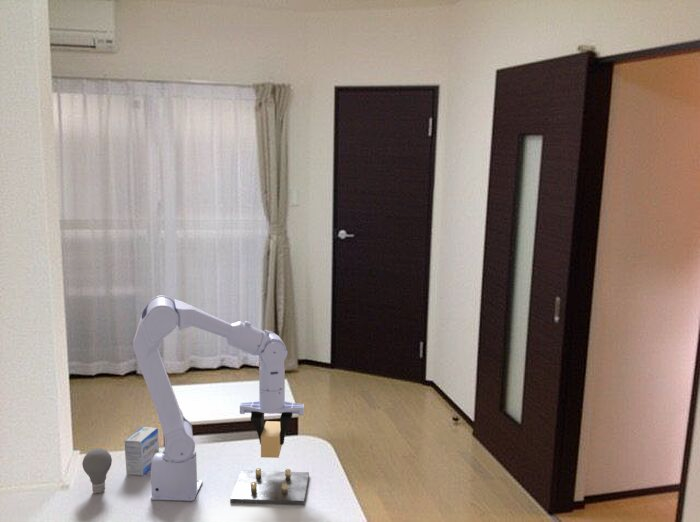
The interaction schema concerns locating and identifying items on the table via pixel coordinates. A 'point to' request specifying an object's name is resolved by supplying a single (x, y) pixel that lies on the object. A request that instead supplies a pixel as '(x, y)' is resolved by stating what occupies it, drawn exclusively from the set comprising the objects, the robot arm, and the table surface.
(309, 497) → the table surface
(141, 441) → the medicine box
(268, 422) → the ochre block
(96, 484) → the light bulb
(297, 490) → the chassis plate
